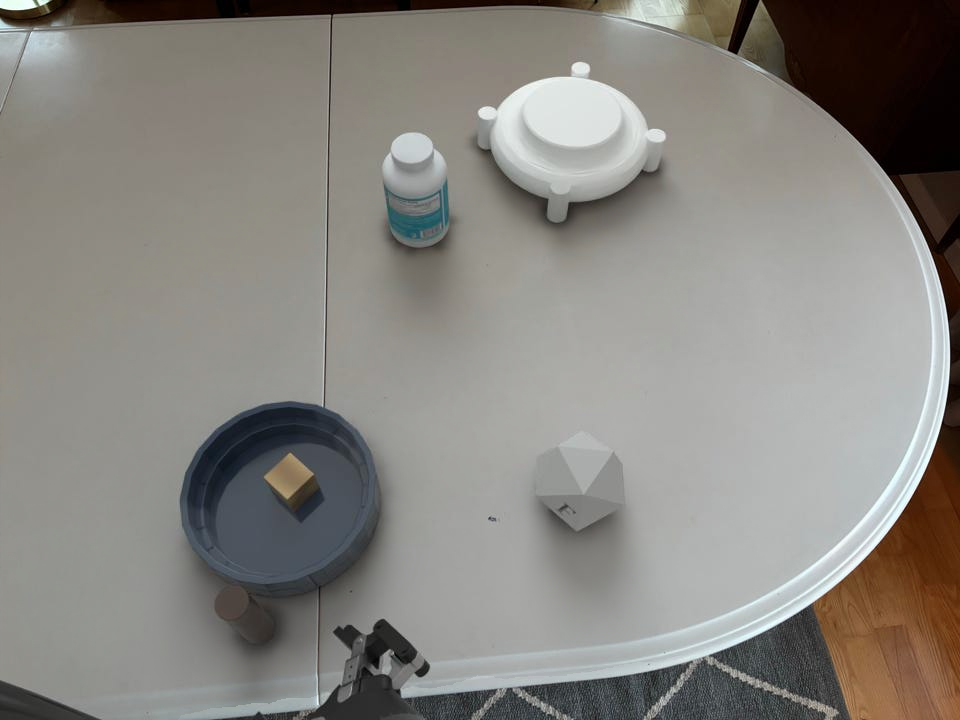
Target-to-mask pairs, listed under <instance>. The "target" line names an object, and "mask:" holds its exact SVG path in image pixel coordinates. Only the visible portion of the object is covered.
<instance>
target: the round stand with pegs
mask: <svg viewBox="0 0 960 720" xmlns="http://www.w3.org/2000/svg"><path fill="white" fill-rule="evenodd" d="M590 74H591V67H590V65H589V64H588V63H586V62H584V61H577V62H575V63H573V64H572V65H571V69H570V76H554V77H548V78H542V79H539V80H535V81H532V82H530V83H528V84H525V85H523V86H522V87H519V88H518V89H517V90H515V91H514V92H512V93H511V94H510V95H508V96H507V97H506V98H505V99H504V100H503V101H502V102H501V104H500V105H499V106H498V108H497V109H496V108H494V107H493V106H489V105H488V106H483V107H481V108H480V109H478V111H477V146H478V147H479V148H480V149H483V150H491V153H492V154H491V155H492V156H493V159H494V161H495V162H496V164H497V165H498V166H497V167H499V169H500V170H501V171H502V172H503V173H504V176H506V177H507V178H508V179H509V180H510V181H511V182H513V183H514V184H515V185H517V186H518V187H520V188H521V189H523V190H525V191H527V192H528V193H531V194H533V195H535V196H538V197H541V198H544V199H547V208H546V218H547V219H548V221H550V222H551V223H556V224H558V223H562V222H564V221H566V219H567V216H568V215H567V214H568V208H569V203H582V202H583V203H584V202H590V201H595V200H599V199H603V198H606V197H608V196H611V195H613V194H615V193H618V192H619V191H621V190H623V189H624V188H625V187H627V186H628V185H629V184H631V183H632V182H633V181H634V180H635V179H636V178H637V176H638V175H639V174H640V173H641V171H644V172H647V173H652V172H655V171H656V170H658V168H659V164H660V162H661V158H662V153H663V151H664V147H665V143H666V139H667V134H666V132H664V131H663V130H661V129H660V128H651V129H649V126H648V124H647V121H646V118H645V117H644V115H643V113H642V112H641V110H640V109H639V108H638V106H637V105H636V104H635V103H634V102H633V101H632V100H631V99H630V98H629V97H627V95H625V94H624V93H622V92H621V91H619V90H618V89H616V88H614V87H612V86H610V85H608V84H606V83H603V82H600V81H597V80H594V79H590Z"/></svg>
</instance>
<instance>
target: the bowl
mask: <svg viewBox="0 0 960 720" xmlns="http://www.w3.org/2000/svg"><path fill="white" fill-rule="evenodd" d="M289 453H291V454H292V455H293V456H295V457H296V458H297V459H298V460H299V461H300V462H301V463H302V464H303V465H304V466H306V467H307V468H308V469H309V470H310V471H311V472H312V473H313V474H314V475H315V478H316V480H317V482H318V484H319V486H320V488H319V489H318V490H317V491H316V492H315V493H314V494H312V495H311V496H310V497H309V498H308V499H307V500H306V501H305V502H304V503H303V504H302V505H301V506H300V507H299V508H298V509H297V510H296V511H295V512H294V511H292V510H291V509H290V508H289V507H288V506H287V505H286V504H285V503H284V502H283V501H282V500H281V499H280V498H279V497H278V496H276V495H275V494H274V493H273V492H272V491H271V489H270V488H269V486H268V484H267V483H266V481H265V479H264V478H263V477H264V476H265V475H266V474H267V473H268V472H270V471H271V470H272V469H273V468H274V467H275V466H276V465H277V464H278V463H279V462H280V461H282V460H283V459H284V458H285V457H286V456H287V455H288V454H289ZM381 494H382V493H381V486H380V482H379V479H378V473H377V470H376V466H375V462H374V459H373V455H372V452H371V449H370V447H369V446H368V444H367V443H366V441H365V439H364V438H363V436H362V435H361V433H360V431H359V430H358V429H357V428H356V427H354V426H353V425H352V424H351V423H350V422H349V421H348V420H346V419H345V418H344V417H343V416H342V415H341V414H339V413H337V412H335V411H333V410H331V409H329V408H326V407H324V406H322V405H319V404H317V403H310V402H301V401H296V400H287V401H286V400H285V401H277V402H268V403H263V404H260V405H258V406H255V407H252V408H249V409H246V410H244V411H242V412H239V413H238V414H236V415H234V416H233V417H232V418H230V419H228V420H227V421H225V422H224V423H223V424H221V425H219V426H218V427H217V428H215V430H214V431H212V432H211V434H210V435H209V436H208V437H207V438H206V440H204V442H202V444H201V445H200V446H199V447H198V448H197V450H196V451H195V454H194V456H193V457H192V459H191V461H190V463H189V465H188V467H187V468H186V471H185V473H184V477H183V481H182V485H181V490H180V495H179V510H180V519H181V527H182V529H183V532H184V533H185V535H186V538H187V540H188V542H189V544H190V546H191V549H192V550H193V551H194V552H195V553H196V554H197V556H198V557H200V558H201V560H202V561H203V562H205V563H206V565H208V567H209V568H210V569H211V570H212V571H213V572H214V573H215V574H216V575H217V576H218V577H219V578H220V579H221V580H222V581H223V582H225V583H228V584H229V585H230V586H239V587H241V588H243V589H244V590H245V591H246V592H247V593H248V594H250V595H251V594H252V595H258V596H264V597H271V598H279V597H286V596H287V597H288V596H294V595H301V594H305V593H308V592H310V591H312V590H314V589H317V588H319V587H321V586H324V585H326V584H329V583H330V582H332V581H333V580H335V579H336V578H337V577H338V576H339V575H341V574H342V573H343V572H344V571H346V570H347V569H348V568H350V567H351V566H352V565H353V564H354V563H355V561H356V560H357V559H358V558H359V556H360V555H361V553H362V552H363V551H364V549H365V548H366V547H367V545H368V544H369V542H370V540H371V538H372V536H373V533H374V531H375V527H376V525H377V522H378V521H379V520H378V519H379V517H380V506H381V505H380V504H381Z"/></svg>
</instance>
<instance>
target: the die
mask: <svg viewBox="0 0 960 720" xmlns="http://www.w3.org/2000/svg"><path fill="white" fill-rule="evenodd" d="M534 495H535V496H534V497H536V498H537V499H538V500H539V501H541V502H542V503H543V504H544V505H545V506H547V508H549V510H551V511H552V512H553V513H554V514H556V516H558V517H559V518H560V519H561V520H562V521H563V522H565V523H566V524H567V525H568V526H569V527H570V528H572V529H573V530H574V531H575V532H579V531H581V530H583V529H584V528H587V527H588V526H590V525H592V524H593V523H595V522H597V521H599V520H601V519H603V518H604V517H607V516H608V515H610V514H612V513H613V512H615V511H617V510H619V509H621V508H622V507H624V506H626V496H625V479H624V464H623V462H622V461H621V460H620V459H619V457H618V456H617V454H616V452H615V451H613V450H612V449H611V448H610V447H608V446H607V445H605V444H604V443H602V442H601V441H599V440H598V439H596V438H595V437H593V436H592V435H590V434H589V433H588V432H586V431H585V430H581V431H579V432H577V433H576V434H574V435H572V436H571V437H568V438H567V439H565V440H564V441H562V442H560V443H558V444H557V445H555V446H553V447H551V448H549V449H548V450H546V451H544V452H543V453H540V454H539V455H537V458H536V475H535V493H534Z"/></svg>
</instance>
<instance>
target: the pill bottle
mask: <svg viewBox="0 0 960 720" xmlns="http://www.w3.org/2000/svg"><path fill="white" fill-rule="evenodd" d="M447 167H448V166H447V163H446V160H445V158H444V157H443V155H442V154H441V153H440V152H439V151H438V150H437V149H435V148H434V143H433V142H432V140H431V138H429V136H427V135H425V134H423V133H420V132H405V133H403V134H401V135H399V136H397V137H396V138H395V139H394V140H393V141H392V143H391V145H390V152H389V153H388V154H387V156H386V157H385V158H384V161H383V163H382V167H381V177H382V178H381V179H382V184H383V185H382V186H383V191H384V196H385V204H386V210H387V211H386V212H387V216H388V217H387V218H388V223H389V228H390V232H391V234H392V235H393V237H394V238H395V239H396V240H397V241H398V242H399V243H401V244H402V245H403V246H404V245H405V246H407V247H409V248H417V249H419V248H426V247H430V246H433V245H436V244H437V243H439V242H440V241H441V240H442V239H444V237H446V235H447V233H448V231H449V229H450V203H449V186H448V184H449V183H448V182H449V181H448V168H447Z"/></svg>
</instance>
